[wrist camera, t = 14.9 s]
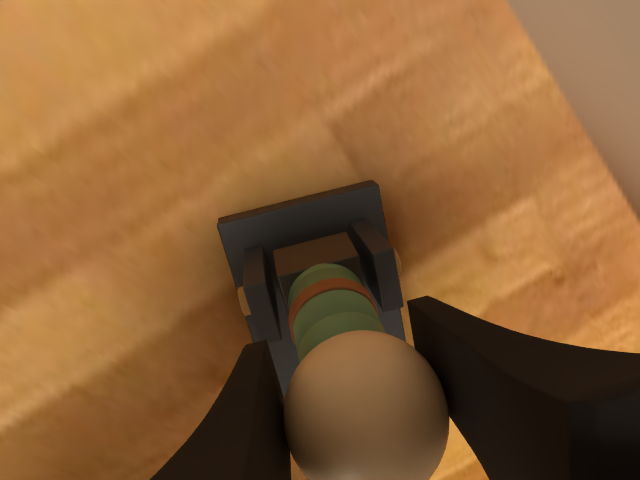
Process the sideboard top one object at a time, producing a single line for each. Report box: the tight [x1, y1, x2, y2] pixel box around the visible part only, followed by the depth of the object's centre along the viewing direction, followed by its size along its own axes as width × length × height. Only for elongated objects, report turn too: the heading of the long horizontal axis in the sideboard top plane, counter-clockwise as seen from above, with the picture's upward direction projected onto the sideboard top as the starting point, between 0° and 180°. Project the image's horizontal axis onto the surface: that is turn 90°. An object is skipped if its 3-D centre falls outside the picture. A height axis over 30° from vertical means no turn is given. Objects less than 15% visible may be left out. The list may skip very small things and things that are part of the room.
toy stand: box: [217, 180, 406, 402], centre depth 19 cm, size 12×7×5 cm, turn 12°
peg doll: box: [273, 232, 449, 480], centre depth 14 cm, size 4×4×10 cm
